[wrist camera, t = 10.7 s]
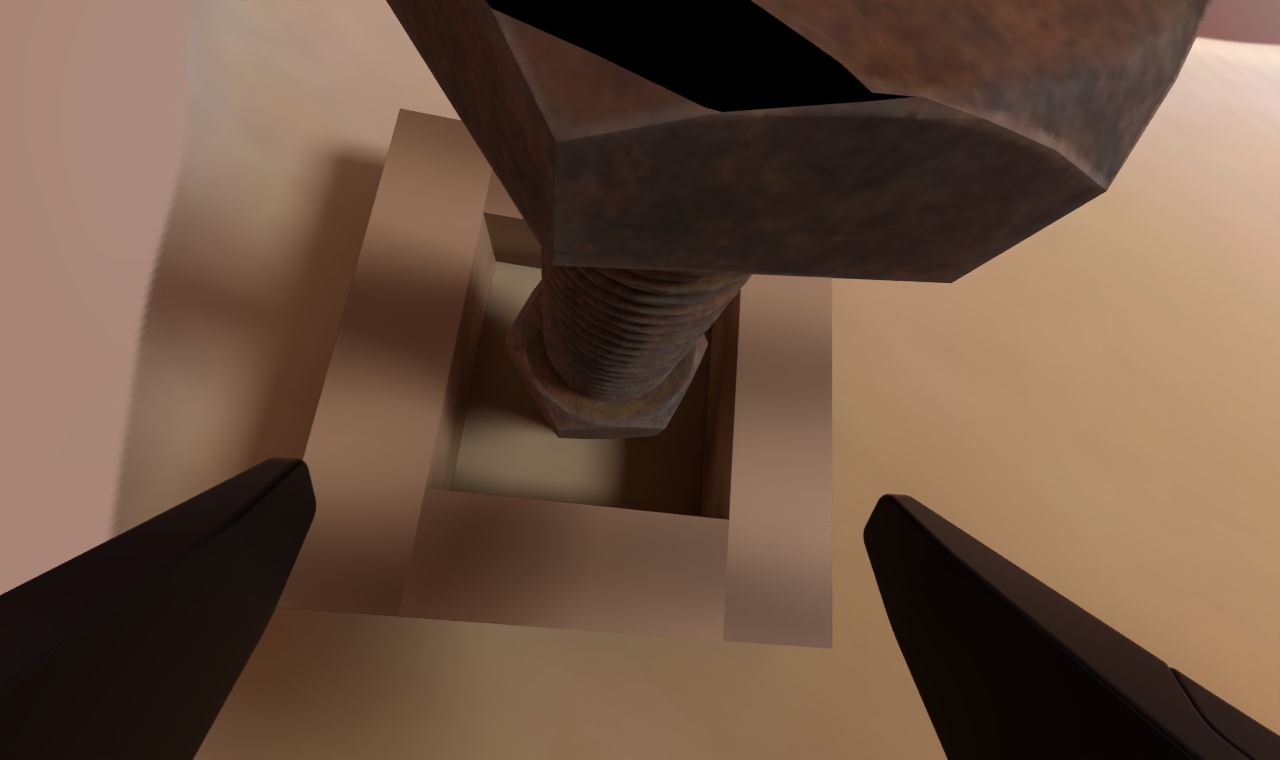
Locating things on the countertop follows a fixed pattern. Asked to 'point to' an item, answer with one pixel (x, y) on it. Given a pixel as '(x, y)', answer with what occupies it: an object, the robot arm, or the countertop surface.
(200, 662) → the robot arm
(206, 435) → the countertop surface
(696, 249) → the bolt
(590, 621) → the jig
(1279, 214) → the countertop surface
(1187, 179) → the countertop surface
